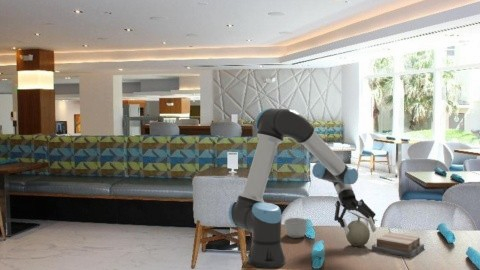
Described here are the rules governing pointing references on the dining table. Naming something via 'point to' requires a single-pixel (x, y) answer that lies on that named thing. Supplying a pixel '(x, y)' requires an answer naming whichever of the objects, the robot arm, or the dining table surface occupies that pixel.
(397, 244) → the stand
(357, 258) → the dining table surface
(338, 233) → the dining table surface
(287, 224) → the teacup
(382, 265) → the dining table surface
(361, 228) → the fruit
